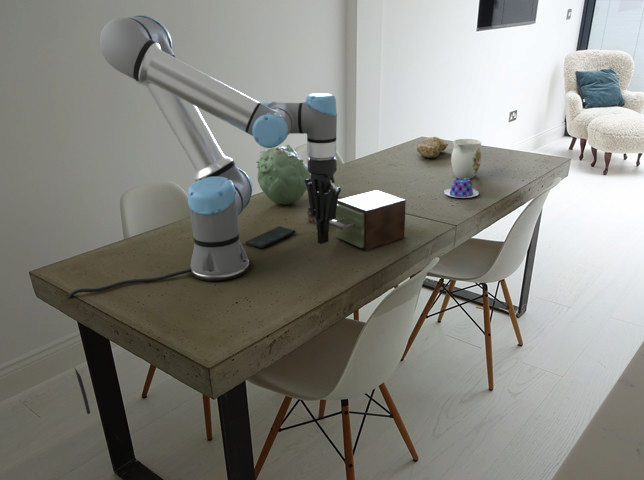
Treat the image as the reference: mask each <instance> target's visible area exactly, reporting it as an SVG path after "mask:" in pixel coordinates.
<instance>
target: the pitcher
mask: <svg viewBox="0 0 644 480" xmlns="http://www.w3.org/2000/svg"><path fill="white" fill-rule="evenodd" d="M452 144H453V149H452V151H451V156H450V164H451V169H452V173H453V175H454V176H455V177H456V179H457V178H467V179H469V180H471V179H473V178H474V177H475V176H476V174H477V173H478V171H479V169H480V167H481V166H480V165H481V161H482V152H481V145H482V141H481V140H480V139H479V140H478V139H474V138H460V139H459V138H458V139H454V140H453V141H452Z"/></svg>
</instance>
